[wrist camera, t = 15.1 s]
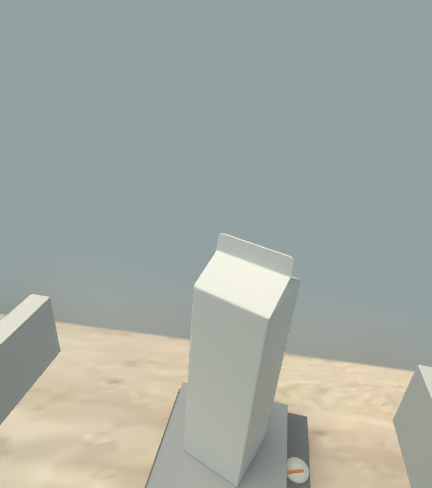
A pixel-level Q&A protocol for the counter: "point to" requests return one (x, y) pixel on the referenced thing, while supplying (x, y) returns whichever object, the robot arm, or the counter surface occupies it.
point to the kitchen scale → (260, 469)
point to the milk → (236, 353)
